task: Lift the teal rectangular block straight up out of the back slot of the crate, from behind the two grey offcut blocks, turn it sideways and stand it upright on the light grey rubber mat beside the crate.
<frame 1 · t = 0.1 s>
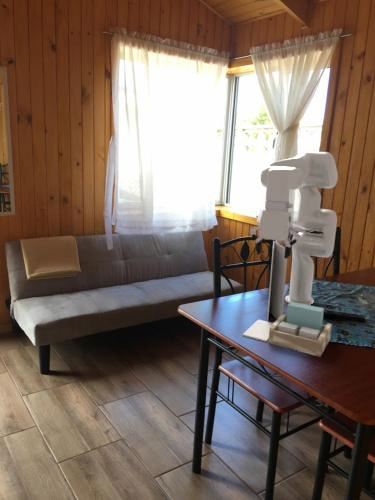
hand: (272, 255, 142), 31 cm above the table, tool pointing down, fingers open, 9 cm apart
offcut 1: (286, 342, 148), resting in crate
teal rectangular block: (302, 337, 152), resting in crate
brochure: (274, 316, 170), on the table
crate: (299, 341, 148), on the table
mat: (261, 330, 156), on the table
offcut 2: (307, 347, 144), resting in crate
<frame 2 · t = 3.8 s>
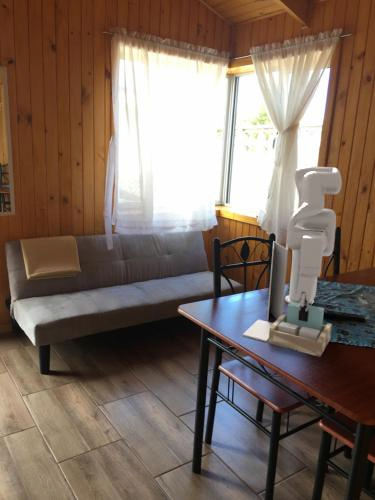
hand: (304, 318, 150), 8 cm above the table, tool pointing down, fingers closed on teal rectangular block, 4 cm apart
teal rectangular block: (302, 337, 152), resting in crate, touching gripper
everything else where it was.
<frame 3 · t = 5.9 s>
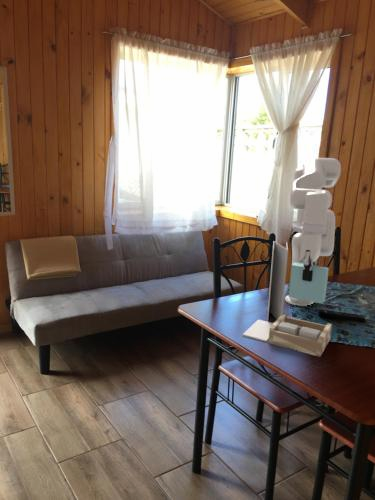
hand: (308, 278, 147), 22 cm above the table, tool pointing down, fingers closed on teal rectangular block, 4 cm apart
teal rectangular block: (306, 298, 149), point 15 cm above the table, touching gripper
everything else where it was.
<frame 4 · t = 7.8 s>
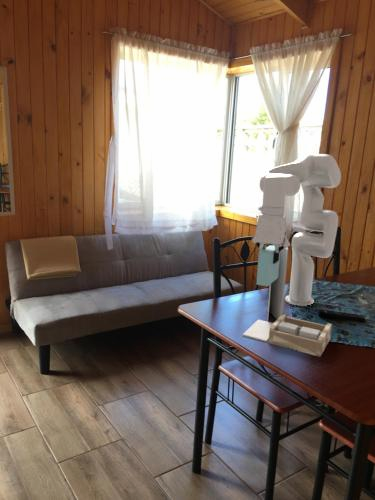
hand: (269, 261, 149), 27 cm above the table, tool pointing down, fingers closed on teal rectangular block, 4 cm apart
teal rectangular block: (267, 281, 151), point 20 cm above the table, touching gripper
everything else where it was.
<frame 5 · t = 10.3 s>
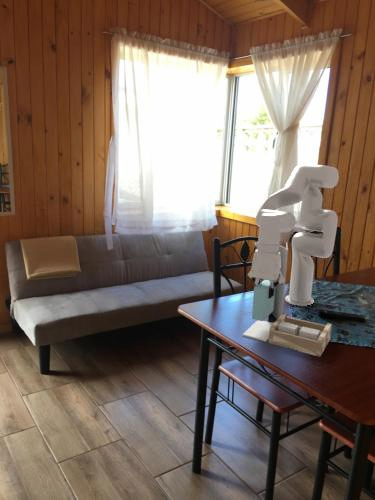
hand: (264, 295, 153), 14 cm above the table, tool pointing down, fingers closed on teal rectangular block, 4 cm apart
teal rectangular block: (262, 314, 154), point 7 cm above the table, touching gripper
everything else where it was.
when the fingers open (10 cm above the table, at t = 12.0 s): teal rectangular block drops 1 cm, resting on mat.
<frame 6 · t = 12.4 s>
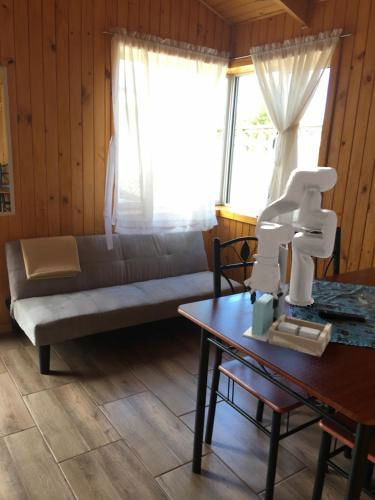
hand: (263, 305, 154), 10 cm above the table, tool pointing down, fingers open, 7 cm apart
teal rectangular block: (262, 329, 156), point 1 cm above the table, touching mat
everything else where it was.
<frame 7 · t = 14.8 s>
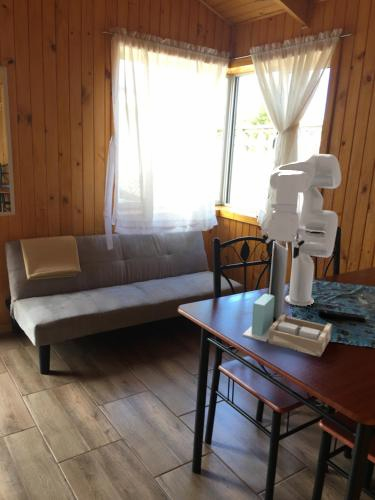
hand: (282, 255, 150), 29 cm above the table, tool pointing down, fingers open, 9 cm apart
nothing on the table moved.
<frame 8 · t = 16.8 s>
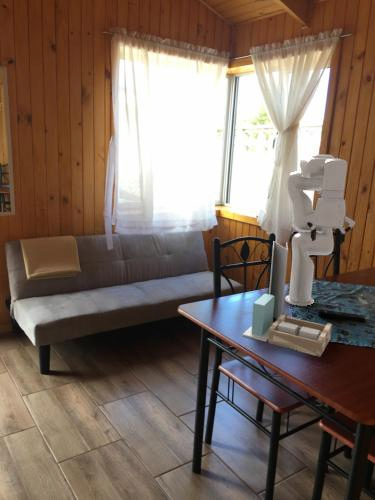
hand: (327, 242, 150), 34 cm above the table, tool pointing down, fingers open, 9 cm apart
nothing on the table moved.
at the end: teal rectangular block inside the target area (0.1 cm from its centre), point 0.6 cm above the table; teal rectangular block tilted 0°; the gripper is holding nothing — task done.
